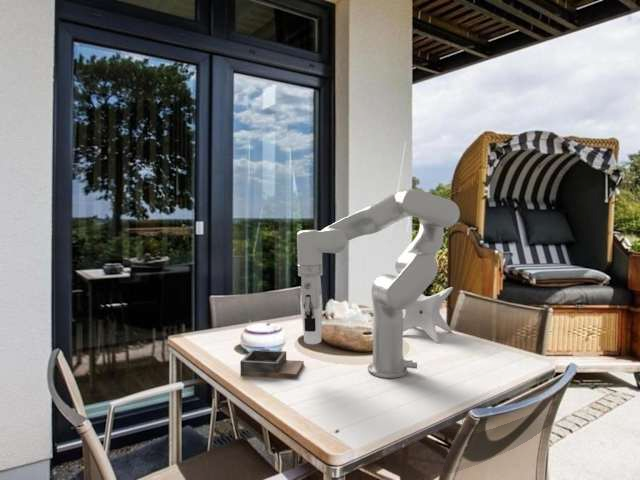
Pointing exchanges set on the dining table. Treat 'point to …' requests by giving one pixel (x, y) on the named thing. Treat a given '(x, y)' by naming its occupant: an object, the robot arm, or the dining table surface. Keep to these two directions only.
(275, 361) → the open box
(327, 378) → the dining table surface
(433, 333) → the grey spiky star shape
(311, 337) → the white cup
